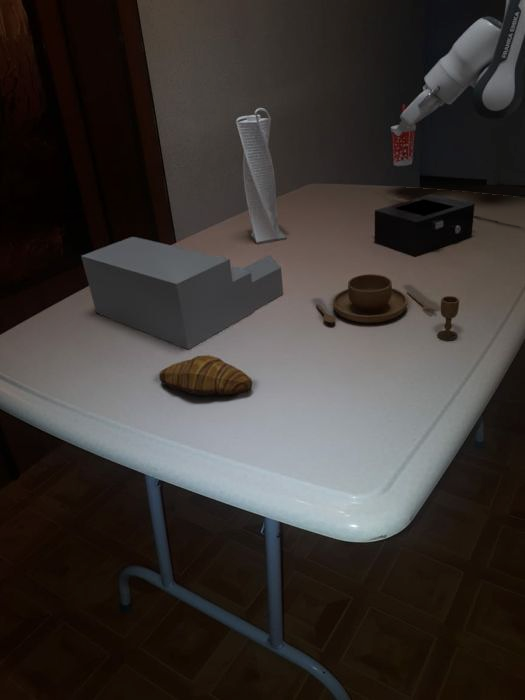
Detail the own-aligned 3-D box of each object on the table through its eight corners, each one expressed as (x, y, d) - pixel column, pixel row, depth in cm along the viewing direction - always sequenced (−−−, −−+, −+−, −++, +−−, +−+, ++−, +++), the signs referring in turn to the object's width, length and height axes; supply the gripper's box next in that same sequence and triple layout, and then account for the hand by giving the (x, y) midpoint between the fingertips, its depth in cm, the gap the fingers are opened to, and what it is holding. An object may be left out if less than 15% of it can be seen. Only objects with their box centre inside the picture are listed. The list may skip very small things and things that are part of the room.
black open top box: (428, 225, 126) (430, 194, 122) (476, 238, 115) (479, 205, 112) (374, 242, 119) (374, 210, 116) (419, 258, 109) (421, 223, 105)
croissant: (150, 397, 75) (142, 365, 72) (173, 370, 80) (166, 340, 78) (243, 408, 70) (238, 375, 68) (260, 380, 76) (257, 348, 73)
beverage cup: (407, 160, 145) (408, 101, 138) (420, 163, 140) (421, 103, 133) (386, 164, 144) (386, 105, 137) (398, 167, 138) (398, 107, 132)
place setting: (405, 287, 98) (406, 255, 95) (464, 338, 81) (468, 301, 78) (309, 304, 95) (307, 272, 92) (349, 360, 78) (348, 323, 75)
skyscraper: (288, 240, 125) (278, 106, 111) (253, 246, 124) (239, 111, 110) (278, 230, 132) (267, 103, 119) (245, 236, 131) (230, 108, 117)
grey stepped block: (284, 294, 100) (279, 235, 94) (188, 349, 85) (176, 283, 80) (191, 269, 115) (182, 218, 110) (96, 313, 101) (81, 255, 95)
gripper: (443, 101, 121) (398, 148, 130) (460, 89, 137) (419, 132, 146) (423, 80, 121) (379, 129, 130) (443, 70, 136) (402, 115, 146)
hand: (400, 130), depth 138 cm, fingers closed on beverage cup, 6 cm apart
